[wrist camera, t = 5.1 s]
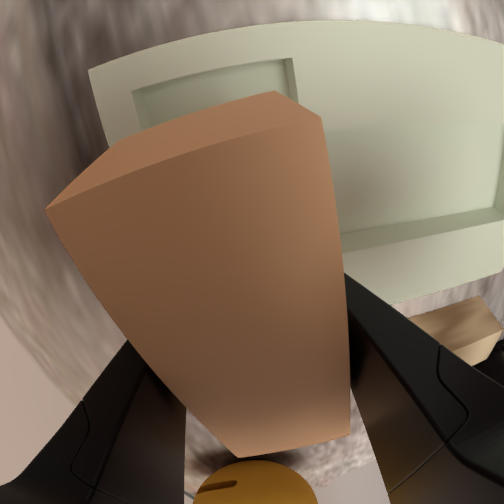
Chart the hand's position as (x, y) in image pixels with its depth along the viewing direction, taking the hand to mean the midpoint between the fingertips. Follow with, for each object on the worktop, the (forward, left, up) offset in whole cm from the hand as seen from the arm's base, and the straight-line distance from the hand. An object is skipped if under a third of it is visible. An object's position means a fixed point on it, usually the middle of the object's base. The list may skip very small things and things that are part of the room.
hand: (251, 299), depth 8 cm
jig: (-5, 0, -7) cm, 9 cm away
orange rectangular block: (0, 0, -1) cm, 1 cm away
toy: (+6, +35, -7) cm, 37 cm away
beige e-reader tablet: (-12, +13, -7) cm, 19 cm away
